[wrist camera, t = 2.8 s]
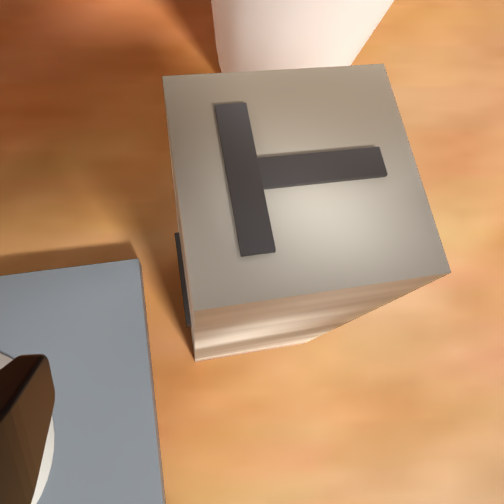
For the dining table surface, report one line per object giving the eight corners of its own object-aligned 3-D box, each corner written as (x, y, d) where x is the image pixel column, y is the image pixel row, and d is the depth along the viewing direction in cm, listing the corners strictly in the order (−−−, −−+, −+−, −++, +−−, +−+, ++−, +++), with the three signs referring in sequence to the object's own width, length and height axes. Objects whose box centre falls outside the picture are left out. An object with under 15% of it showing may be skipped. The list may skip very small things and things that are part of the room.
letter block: (304, 343, 18) (453, 271, 8) (191, 362, 17) (184, 311, 7) (283, 241, 19) (385, 60, 9) (177, 254, 19) (153, 72, 8)
